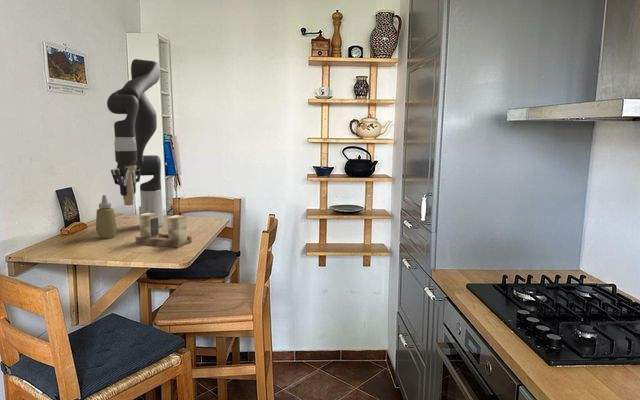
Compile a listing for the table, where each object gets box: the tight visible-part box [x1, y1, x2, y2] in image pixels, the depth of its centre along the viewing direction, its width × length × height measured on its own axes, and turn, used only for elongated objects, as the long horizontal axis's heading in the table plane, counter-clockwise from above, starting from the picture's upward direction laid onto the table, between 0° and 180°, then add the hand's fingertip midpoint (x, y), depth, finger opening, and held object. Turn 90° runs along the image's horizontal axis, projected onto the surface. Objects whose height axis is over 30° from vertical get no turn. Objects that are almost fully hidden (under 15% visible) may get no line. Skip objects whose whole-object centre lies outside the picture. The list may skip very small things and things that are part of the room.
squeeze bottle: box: [95, 194, 118, 239], centre depth 183 cm, size 8×8×18 cm
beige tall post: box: [122, 165, 136, 206], centre depth 166 cm, size 5×6×15 cm
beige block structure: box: [134, 213, 192, 249], centre depth 177 cm, size 20×9×11 cm, turn 73°
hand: (128, 194), depth 166 cm, fingers closed on beige tall post, 4 cm apart
